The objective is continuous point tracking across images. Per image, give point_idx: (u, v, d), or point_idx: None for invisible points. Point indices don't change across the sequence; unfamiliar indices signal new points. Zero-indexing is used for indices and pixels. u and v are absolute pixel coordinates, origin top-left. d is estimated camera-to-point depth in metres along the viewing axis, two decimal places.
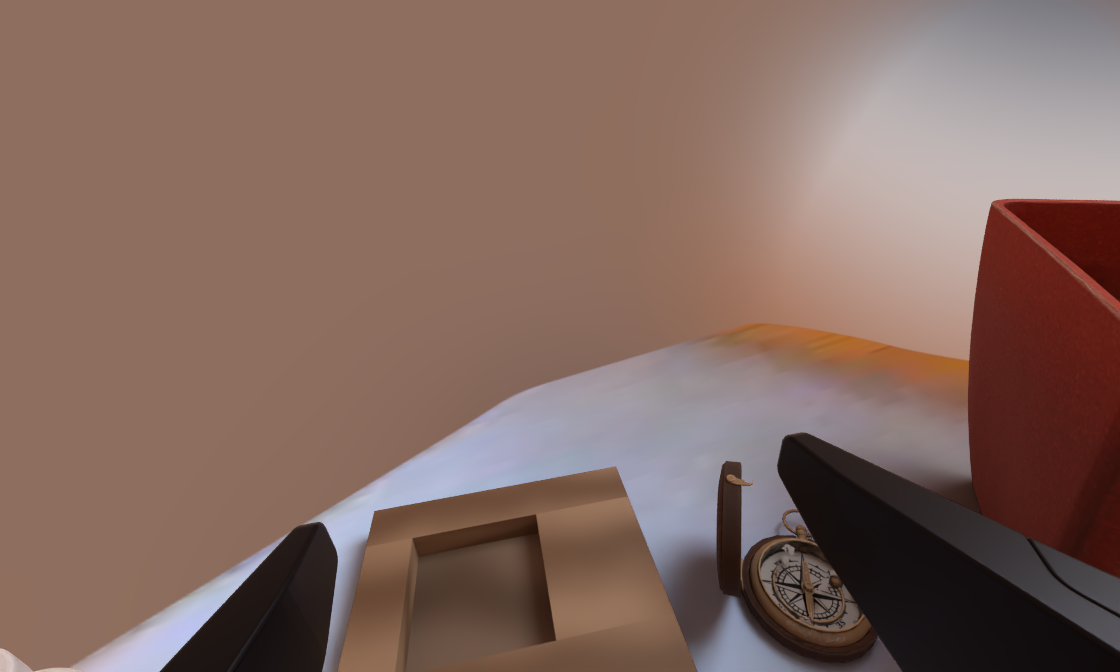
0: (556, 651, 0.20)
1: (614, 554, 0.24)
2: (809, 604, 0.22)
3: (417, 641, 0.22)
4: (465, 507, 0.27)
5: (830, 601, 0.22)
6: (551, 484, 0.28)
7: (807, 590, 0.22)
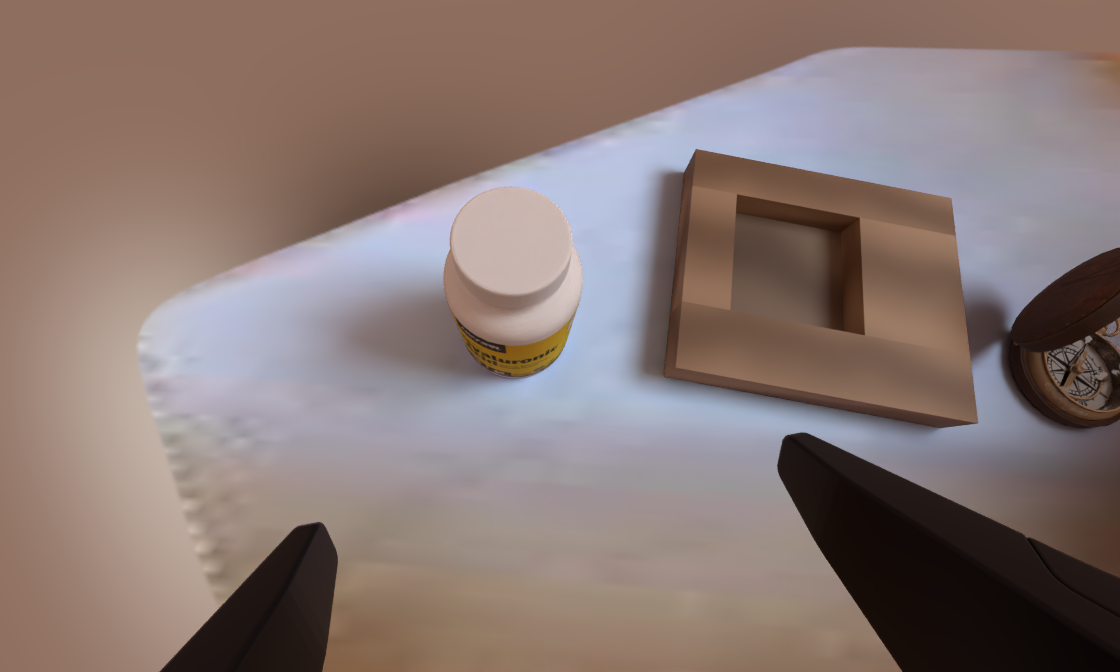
0: (864, 343, 0.23)
1: (929, 286, 0.24)
2: (1069, 380, 0.24)
3: None
4: (789, 182, 0.26)
5: (1085, 386, 0.25)
6: (879, 191, 0.26)
7: (1075, 371, 0.25)
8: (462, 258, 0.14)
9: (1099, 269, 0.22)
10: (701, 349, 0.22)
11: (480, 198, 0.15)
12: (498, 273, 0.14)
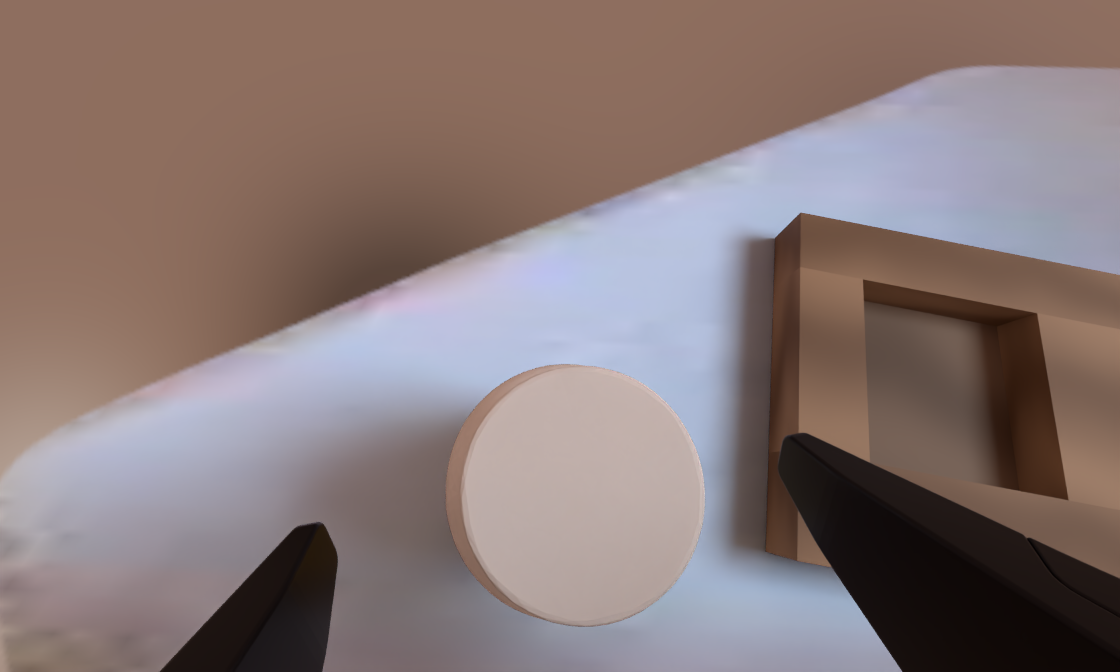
0: (1069, 513, 0.15)
1: None
2: None
3: None
4: (933, 260, 0.18)
5: None
6: (1058, 273, 0.18)
7: None
8: (484, 540, 0.07)
9: None
10: None
11: (520, 396, 0.07)
12: (560, 574, 0.07)
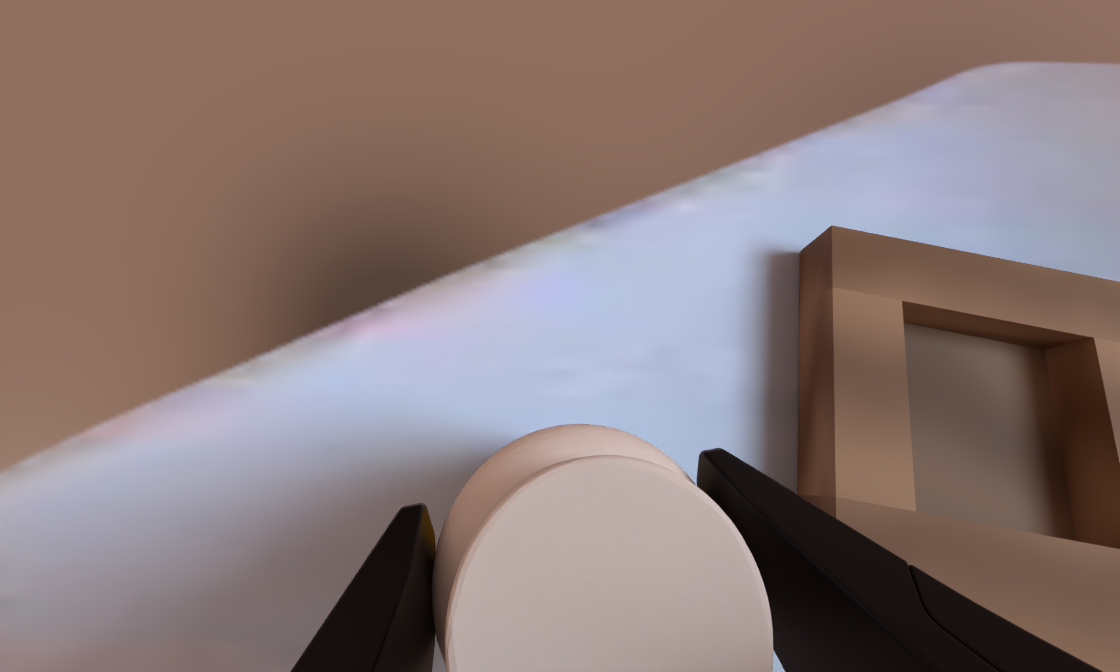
0: None
1: None
2: None
3: None
4: (979, 279, 0.16)
5: None
6: (1115, 292, 0.17)
7: None
8: None
9: None
10: None
11: (526, 502, 0.06)
12: None
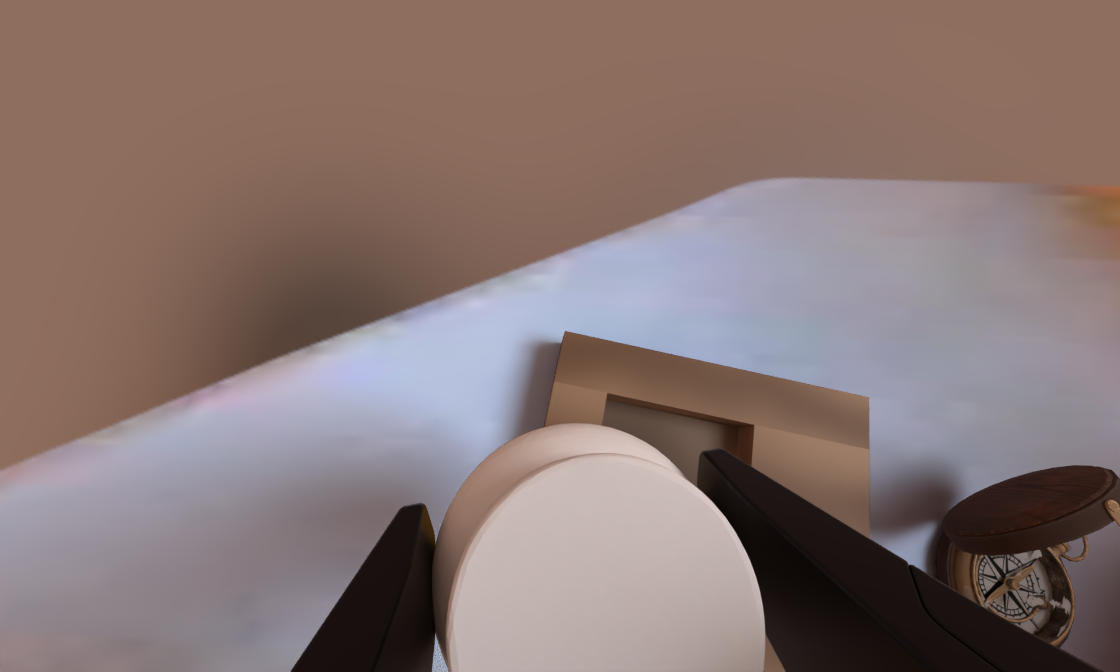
0: None
1: None
2: (998, 593, 0.21)
3: None
4: (673, 376, 0.21)
5: (1016, 606, 0.21)
6: (782, 388, 0.22)
7: (1009, 585, 0.21)
8: None
9: (1058, 483, 0.18)
10: None
11: (525, 499, 0.06)
12: None
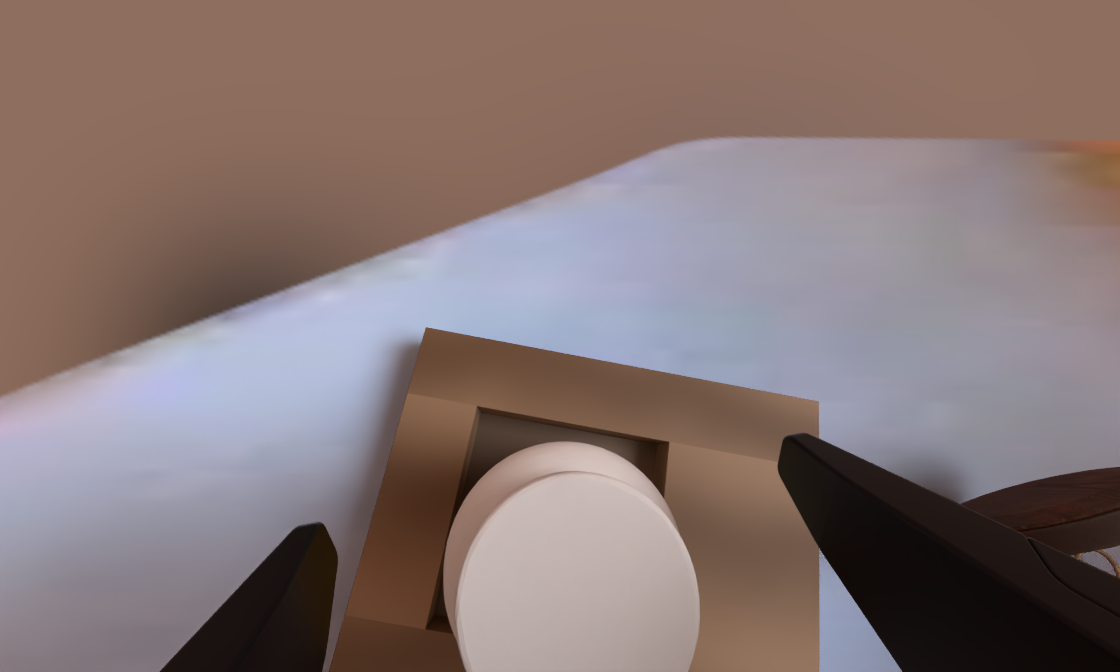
0: None
1: (766, 567, 0.15)
2: None
3: None
4: (565, 381, 0.17)
5: None
6: (707, 393, 0.17)
7: None
8: (479, 664, 0.07)
9: (1094, 481, 0.14)
10: None
11: (512, 509, 0.07)
12: None
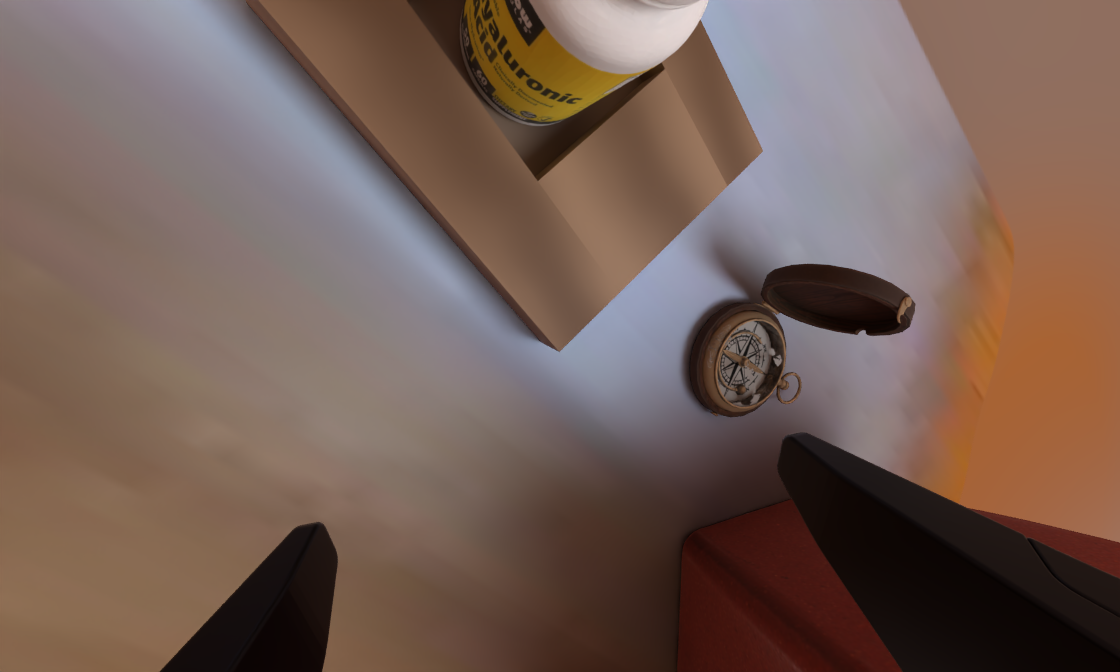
0: (528, 187, 0.16)
1: (653, 203, 0.19)
2: (733, 355, 0.24)
3: None
4: None
5: (729, 376, 0.24)
6: (712, 68, 0.19)
7: (743, 359, 0.24)
8: None
9: None
10: None
11: None
12: None
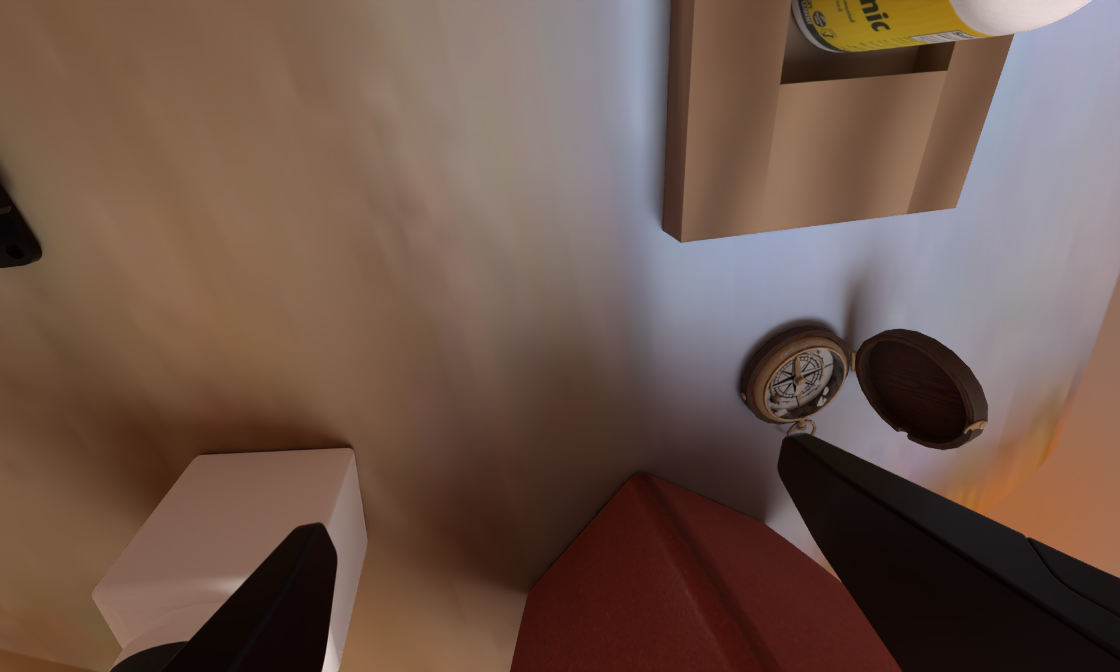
0: (768, 83, 0.17)
1: (843, 179, 0.19)
2: (798, 368, 0.25)
3: None
4: None
5: (779, 380, 0.25)
6: (981, 102, 0.18)
7: (801, 377, 0.25)
8: None
9: None
10: None
11: None
12: None
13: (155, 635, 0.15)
